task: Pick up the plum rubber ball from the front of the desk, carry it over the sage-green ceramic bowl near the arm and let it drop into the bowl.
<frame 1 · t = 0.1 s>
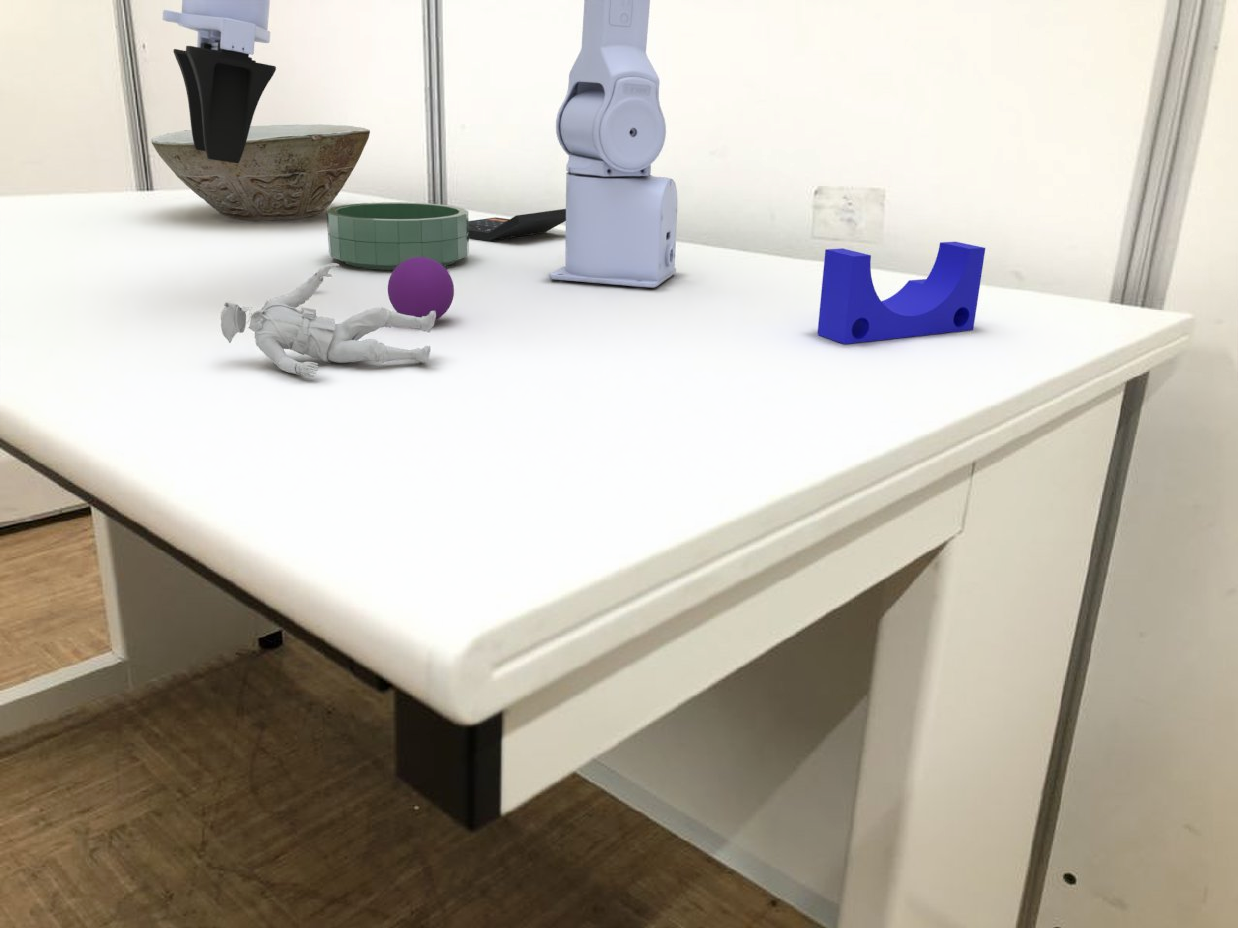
hand: (216, 156, 78), 10 cm above the table, tool pointing down, fingers open, 7 cm apart
blue pipe saddle bracket: (889, 332, 78), on the table
soldier figure: (334, 366, 65), on the table
bowl: (269, 217, 124), on the table
green bowl: (400, 260, 99), on the table
ball: (421, 290, 75), point 2 cm above the table
calculator: (506, 236, 116), on the table
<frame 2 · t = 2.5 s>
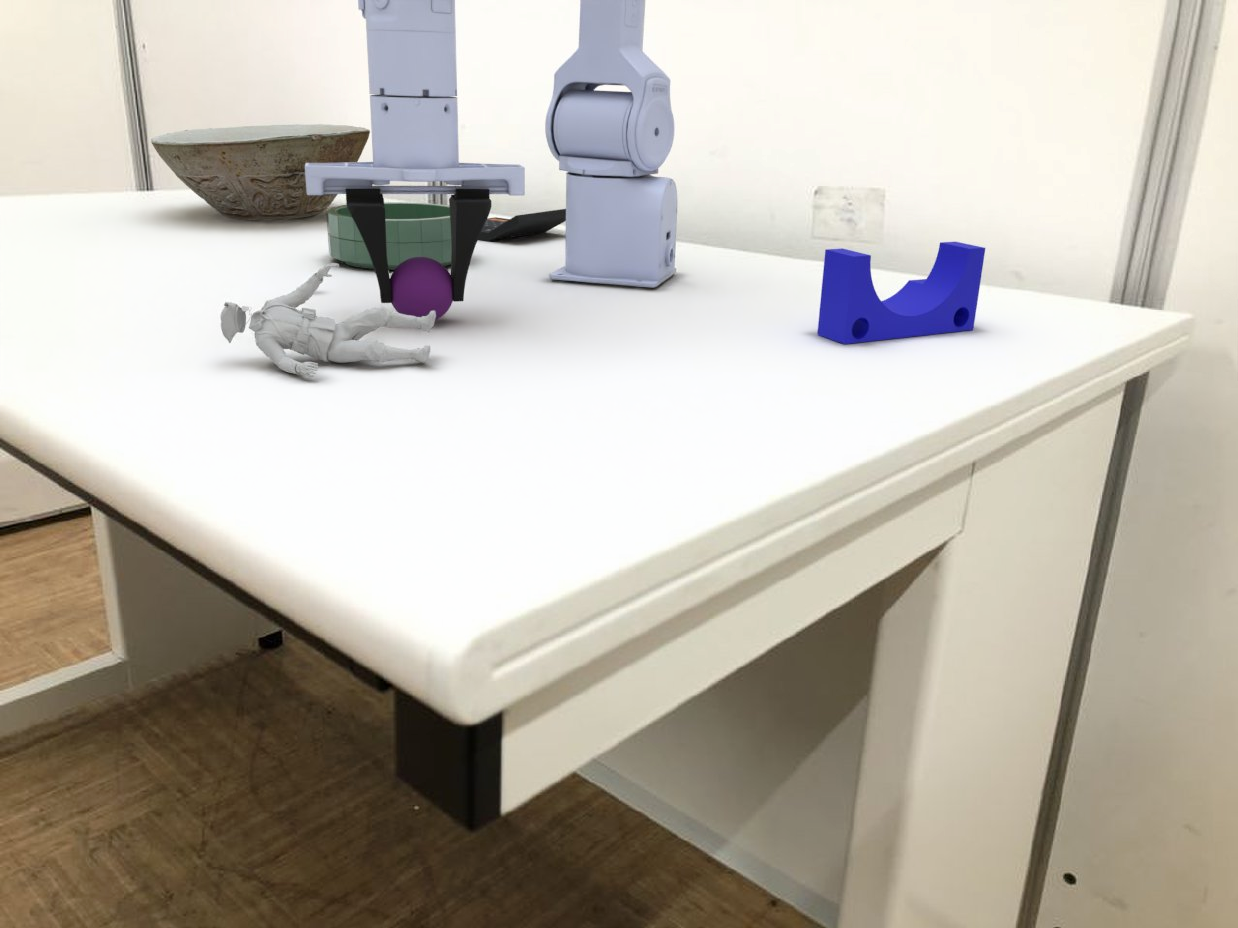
hand: (421, 299, 75), 2 cm above the table, tool pointing down, fingers closed on ball, 4 cm apart
ball: (421, 290, 75), point 2 cm above the table, touching gripper
everything else where it was.
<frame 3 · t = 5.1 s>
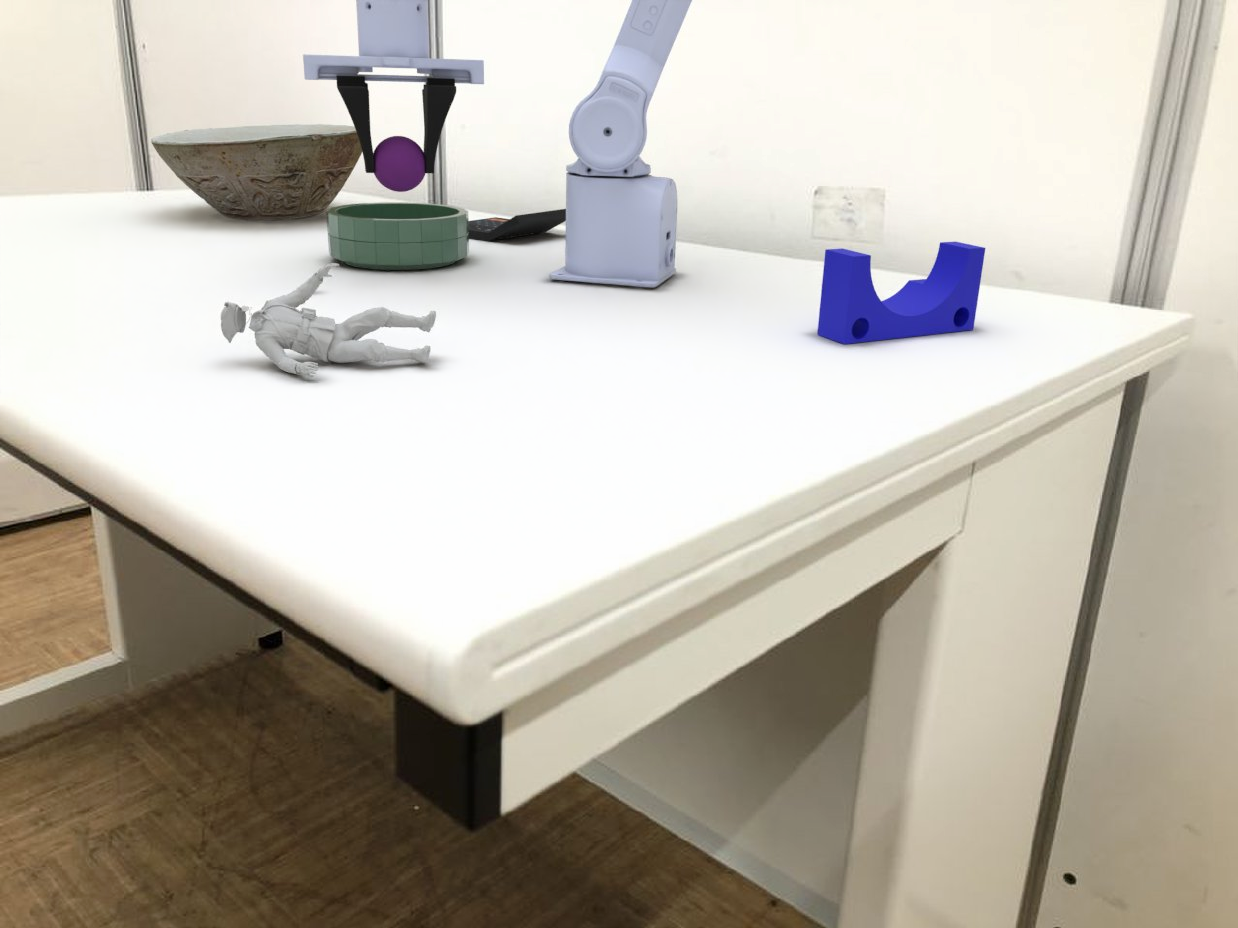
hand: (399, 172, 91), 8 cm above the table, tool pointing down, fingers closed on ball, 4 cm apart
ball: (399, 164, 91), point 9 cm above the table, touching gripper
everything else where it was.
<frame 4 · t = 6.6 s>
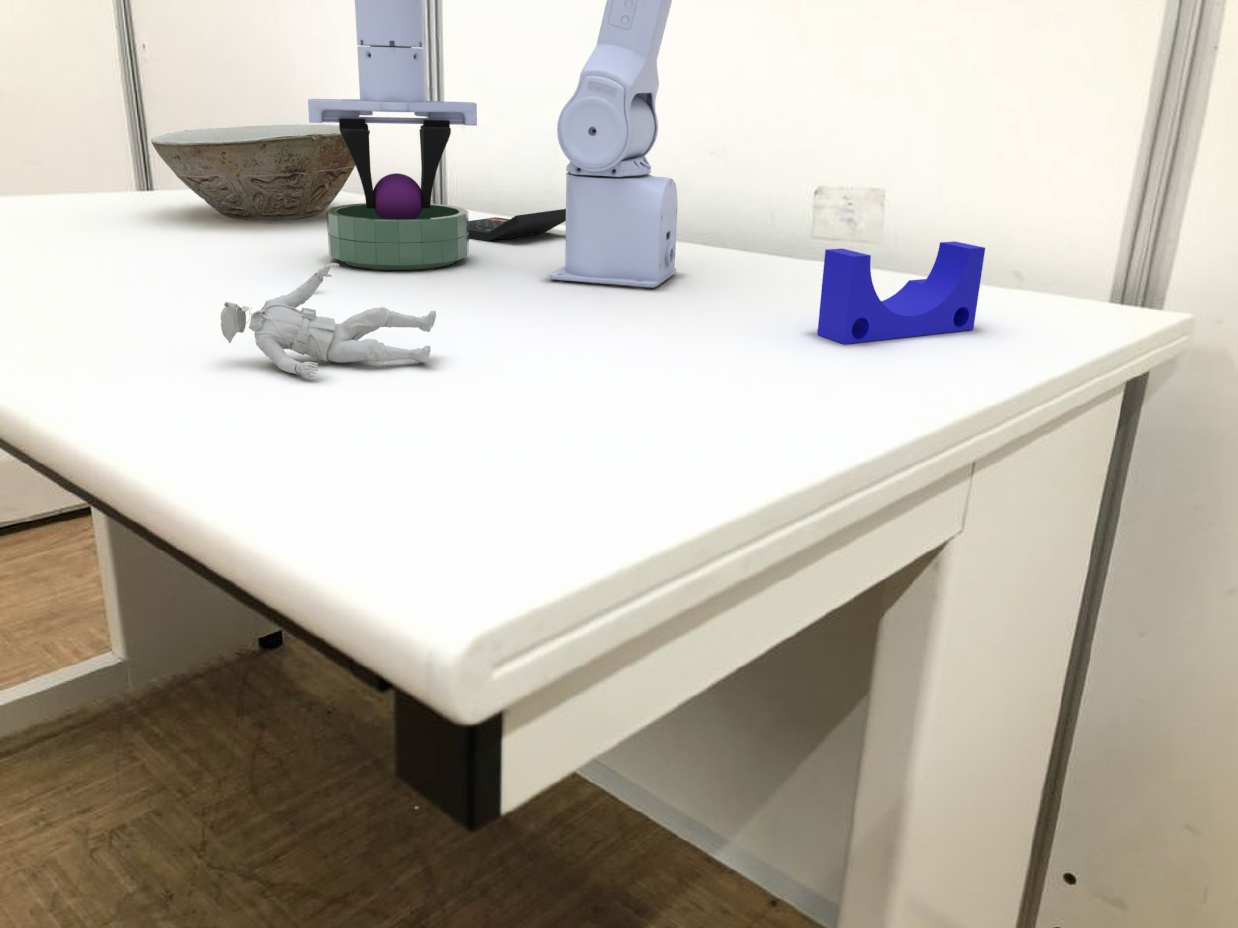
hand: (397, 207, 97), 5 cm above the table, tool pointing down, fingers closed on ball, 4 cm apart
ball: (397, 199, 97), point 6 cm above the table, touching gripper
everything else where it was.
when the fingers open (3 cm above the table, at t = 7.6 s): ball stays where it is, resting on green bowl.
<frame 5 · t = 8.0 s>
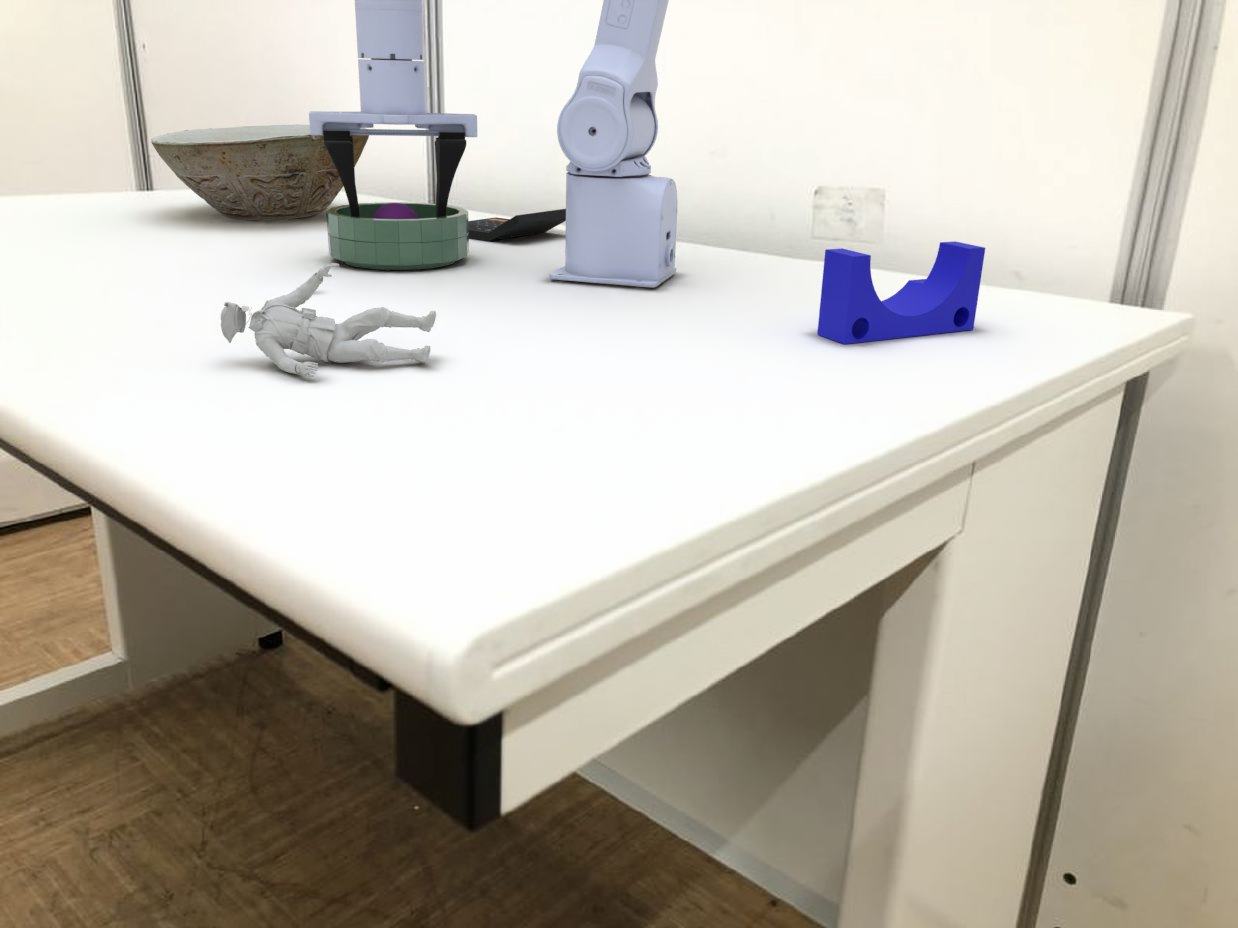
hand: (398, 218, 98), 4 cm above the table, tool pointing down, fingers open, 7 cm apart
ball: (395, 228, 98), point 3 cm above the table, tilted 8°, touching green bowl
everything else where it was.
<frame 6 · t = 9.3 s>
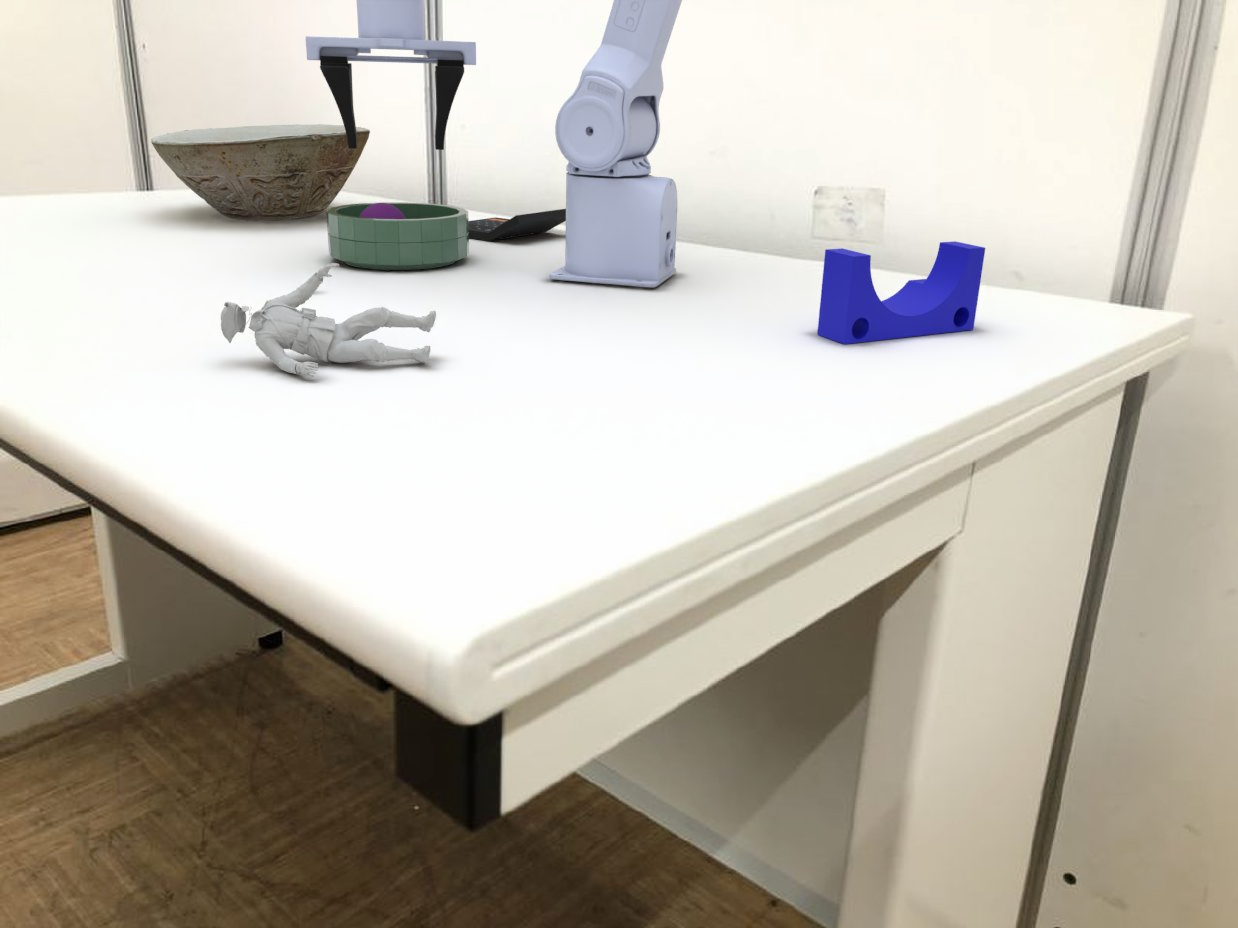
hand: (396, 148, 97), 10 cm above the table, tool pointing down, fingers open, 7 cm apart
ball: (382, 228, 98), point 3 cm above the table, tilted 37°, touching green bowl
everything else where it was.
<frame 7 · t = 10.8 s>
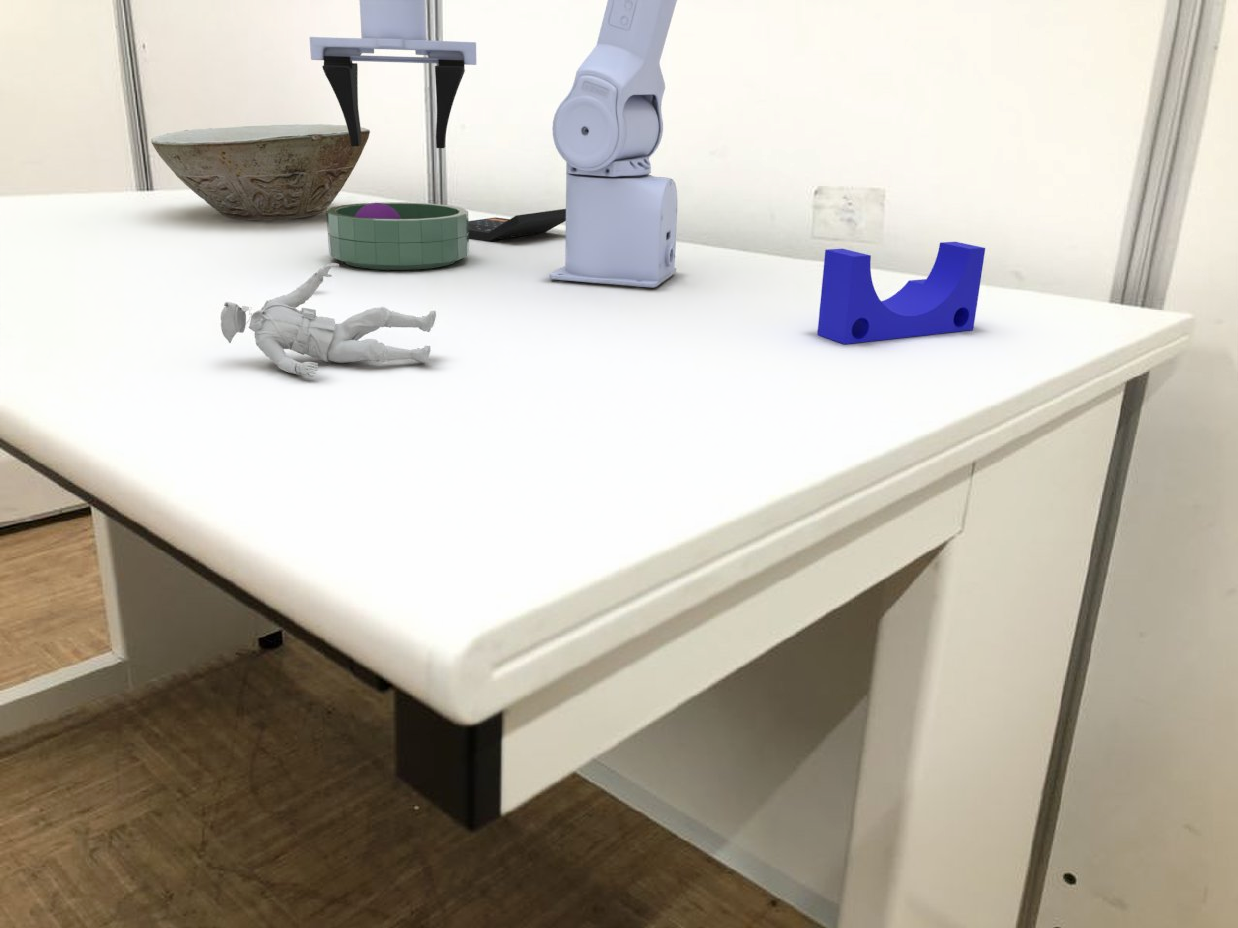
hand: (398, 146, 99), 10 cm above the table, tool pointing down, fingers open, 7 cm apart
ball: (377, 228, 98), point 3 cm above the table, tilted 48°, touching green bowl
everything else where it was.
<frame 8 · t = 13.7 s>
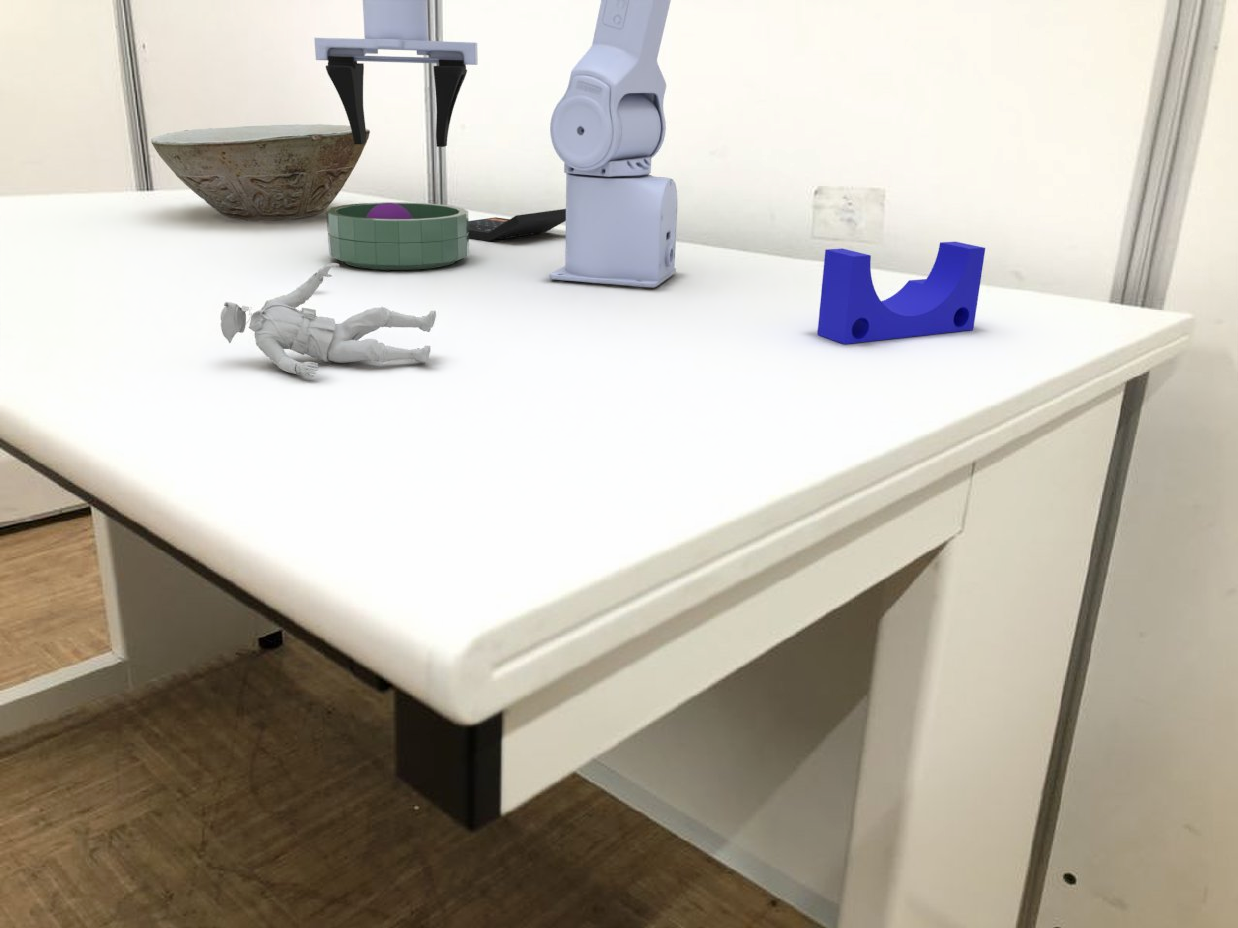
hand: (401, 145, 101), 10 cm above the table, tool pointing down, fingers open, 7 cm apart
ball: (389, 228, 98), point 3 cm above the table, tilted 22°, touching green bowl
everything else where it was.
at the end: ball inside the target area in the green bowl (0.9 cm from its centre), point 2.9 cm above the green bowl's base; the gripper is holding nothing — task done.
